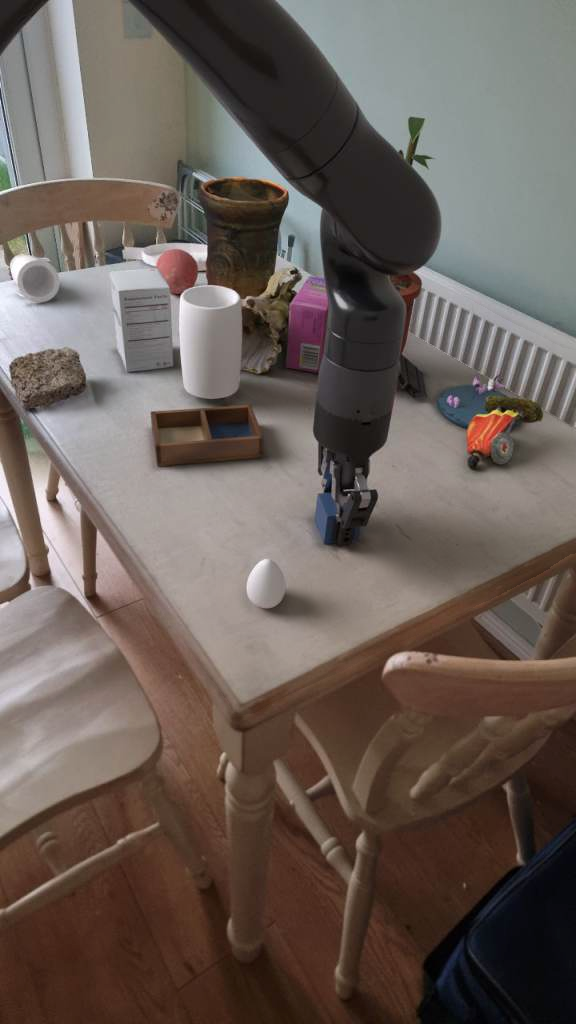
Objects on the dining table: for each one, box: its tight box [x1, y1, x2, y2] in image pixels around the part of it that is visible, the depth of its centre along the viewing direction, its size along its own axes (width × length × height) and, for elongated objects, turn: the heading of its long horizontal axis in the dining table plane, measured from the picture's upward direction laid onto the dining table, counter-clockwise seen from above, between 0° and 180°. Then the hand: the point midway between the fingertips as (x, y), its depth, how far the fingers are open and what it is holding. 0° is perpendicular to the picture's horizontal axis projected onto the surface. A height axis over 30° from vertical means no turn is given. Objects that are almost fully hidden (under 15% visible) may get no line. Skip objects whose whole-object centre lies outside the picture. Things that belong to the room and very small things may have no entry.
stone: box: [8, 346, 87, 410], centre depth 95 cm, size 9×5×10 cm
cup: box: [178, 284, 242, 400], centre depth 95 cm, size 8×8×14 cm
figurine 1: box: [240, 266, 303, 374], centre depth 108 cm, size 12×12×20 cm
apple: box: [155, 249, 199, 295], centre depth 124 cm, size 7×7×8 cm
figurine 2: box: [466, 395, 544, 470], centre depth 91 cm, size 8×5×12 cm
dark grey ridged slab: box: [398, 354, 428, 400], centre depth 104 cm, size 5×9×2 cm
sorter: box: [150, 404, 264, 467], centre depth 89 cm, size 13×8×3 cm, turn 103°
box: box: [285, 275, 328, 374], centre depth 107 cm, size 10×6×12 cm
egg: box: [246, 558, 286, 609], centre depth 67 cm, size 4×4×6 cm
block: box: [314, 489, 361, 545], centre depth 77 cm, size 4×4×4 cm
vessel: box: [198, 176, 290, 323], centre depth 115 cm, size 14×14×20 cm
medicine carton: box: [109, 267, 175, 373], centre depth 102 cm, size 7×7×13 cm
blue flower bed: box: [436, 372, 519, 430], centre depth 98 cm, size 12×12×7 cm
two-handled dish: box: [122, 242, 207, 272], centre depth 137 cm, size 10×25×2 cm, turn 88°
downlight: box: [9, 253, 61, 303], centre depth 120 cm, size 8×7×10 cm
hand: (336, 528), depth 78 cm, fingers closed on block, 4 cm apart
